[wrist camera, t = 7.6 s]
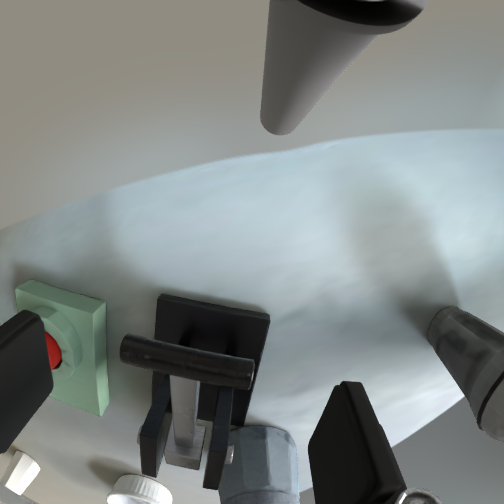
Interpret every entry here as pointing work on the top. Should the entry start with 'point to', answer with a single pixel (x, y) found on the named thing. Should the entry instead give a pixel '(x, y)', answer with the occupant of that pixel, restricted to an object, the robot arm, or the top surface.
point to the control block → (72, 343)
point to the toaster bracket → (210, 395)
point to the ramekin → (138, 491)
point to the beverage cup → (473, 363)
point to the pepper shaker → (20, 472)
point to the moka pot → (260, 468)
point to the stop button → (53, 350)
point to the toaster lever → (186, 388)
